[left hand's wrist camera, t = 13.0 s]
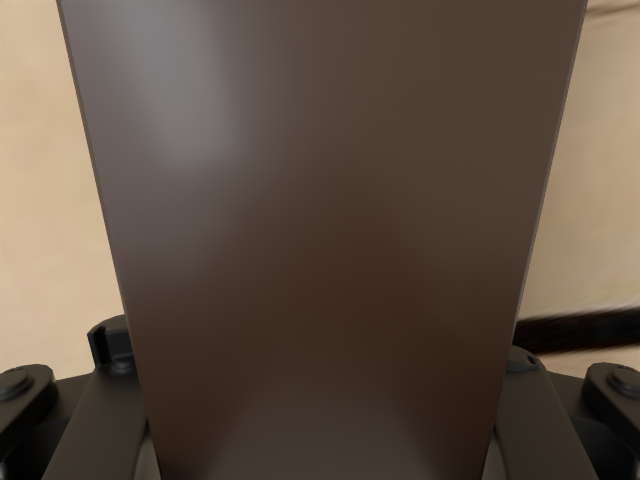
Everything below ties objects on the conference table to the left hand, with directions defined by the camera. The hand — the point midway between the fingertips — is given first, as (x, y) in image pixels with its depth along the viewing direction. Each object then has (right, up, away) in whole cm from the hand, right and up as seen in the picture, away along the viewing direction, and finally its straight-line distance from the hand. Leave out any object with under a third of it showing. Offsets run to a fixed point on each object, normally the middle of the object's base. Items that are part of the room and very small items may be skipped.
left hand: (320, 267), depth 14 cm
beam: (0, +10, -3) cm, 11 cm away
